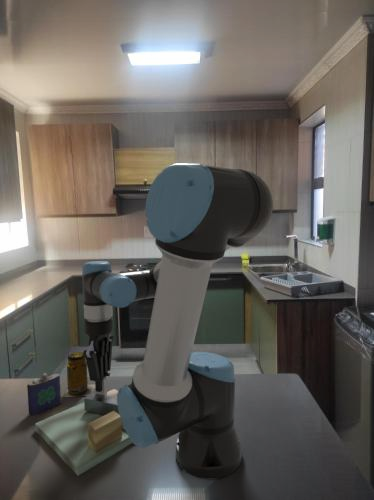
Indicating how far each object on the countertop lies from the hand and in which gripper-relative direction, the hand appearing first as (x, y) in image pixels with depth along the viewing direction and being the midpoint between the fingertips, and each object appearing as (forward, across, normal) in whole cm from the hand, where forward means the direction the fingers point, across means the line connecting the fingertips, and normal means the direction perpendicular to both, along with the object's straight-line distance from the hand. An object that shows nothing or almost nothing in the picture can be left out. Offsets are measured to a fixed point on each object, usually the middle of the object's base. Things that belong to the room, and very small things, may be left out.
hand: (101, 400), depth 92 cm
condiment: (+4, -10, -13) cm, 17 cm away
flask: (+4, +2, -17) cm, 17 cm away
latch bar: (+1, +3, +4) cm, 5 cm away
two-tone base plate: (+4, +6, +2) cm, 8 cm away
